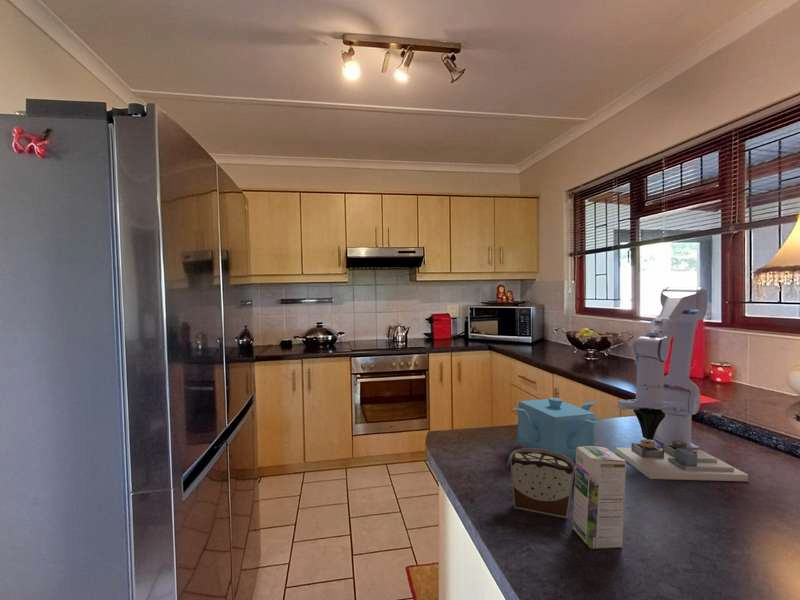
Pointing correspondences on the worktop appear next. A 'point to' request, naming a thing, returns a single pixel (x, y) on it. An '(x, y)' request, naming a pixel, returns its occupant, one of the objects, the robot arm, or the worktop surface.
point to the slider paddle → (686, 457)
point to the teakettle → (555, 425)
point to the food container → (541, 481)
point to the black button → (679, 445)
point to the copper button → (647, 445)
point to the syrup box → (599, 497)
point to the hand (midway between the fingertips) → (647, 438)
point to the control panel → (678, 465)
